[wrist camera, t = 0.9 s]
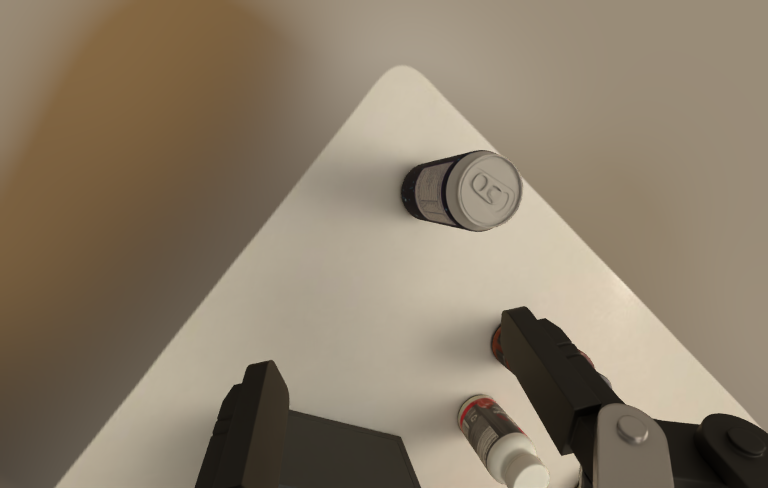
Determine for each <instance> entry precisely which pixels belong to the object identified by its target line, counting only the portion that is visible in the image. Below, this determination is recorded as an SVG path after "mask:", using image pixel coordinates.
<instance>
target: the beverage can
mask: <svg viewBox="0 0 768 488" xmlns="http://www.w3.org/2000/svg"><path fill="white" fill-rule="evenodd" d="M522 194H523V183H522V178H521V175H520V173H519V171H518V169H517V168H516V166H515V165H514V163H512V162H511V161H510V160H509V159H507V158H506V157H504V156H501V155H498V154H496V153H493V152H491V151H486V150H478V151H473V152H469V153H465V154H461V155H457V156H453V157H449V158H445V159H440V160H436V161H432V162H428V163H424V164H421V165H418V166H416V167H414V168H413V169H412V170H411V171H410V172H409V173H408V174H407V175H406V177H405V179H404V181H403V184H402V190H401V195H402V201H403V204H404V206H405V208H406V209H407V211H408V212H409V213H410V214H411V215H412V216H414V217H415V218H417V219H420V220H424V221H429V222H433V223H438V224H442V225H447V226H451V227H456V228H460V229H465V230H469V231H475V232H482V231H487V230H490V229H492V228H494V227H498V226H500V225H502V224H504V223H506V222H507V221H508V220H510V219H511V218H512V216H513V215H514V214H515V213H516V211H517V210H518V207H519V205H520V203H521V200H522Z"/></svg>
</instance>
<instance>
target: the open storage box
mask: <svg viewBox="0 0 768 488" xmlns="http://www.w3.org/2000/svg"><path fill="white" fill-rule="evenodd" d="M278 488H421V487H420V484H419V482H418V479H417V477H416V474H415V471H414V469H413V466H412V464H411V461H410V459H409V456H408V454H407V451H406V449H405V446H404V444H403V441H402V439H401V437H398V436H394V435H390V434H386V433H382V432H378V431H373V430H369V429H365V428H361V427H357V426H353V425H349V424H345V423H341V422H337V421H333V420H328V419H324V418H320V417H316V416H312V415H308V414H304V413H300V412H296V411H292V410H288V418H287V425H286V433H285V441H284V448H283V456H282V464H281V471H280V479H279V486H278Z"/></svg>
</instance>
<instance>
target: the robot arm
mask: <svg viewBox="0 0 768 488" xmlns="http://www.w3.org/2000/svg"><path fill="white" fill-rule="evenodd" d="M500 342H501V348H502V351H503V354H504V356H505V358H506V360H507V362H508V363H509V365H510V367H511V369H512V370H513V372H514V374H515V376H516V377H517V379H518V381H519V383H520V384H521V386H522V388H523V390H524V391H525V393H526V395H527V397H528V398H529V400H530V402H531V404H532V405H533V407H534V409H535V411H536V412H537V414H538V416H539V418H540V419H541V421H542V423H543V425H544V426H545V428H546V430H547V432H548V433H549V435H550V437H551V439H552V440H553V442H554V444H555V446H556V447H557V449H558V451H559V453H560V454H561V456H563V455H567V454H571V453H574V454H575V456H576V458H577V459H578V461H579V463H580V472H579V488H768V433H766V432H765V431H764V430H762V429H761V428H759V427H758V426H756V425H754V424H752V423H750V422H748V421H746V420H744V419H742V418H739V417H736V416H733V415H728V414H720V413H718V414H711V415H709V416H707V417H705V419H704V420H703V421H702V423H701V424H700V425H698V424H689V423H679V422H670V421H662V420H657V419H653V418H651V417H650V416H648V415H647V414H646V413H644V412H642V411H641V410H639V409H637V408H635V407H632V406H629V405H626V404H625V403H624V402H623V401H622V400H621V399H620V398H619V397H618V396H617V395H616V394H615V393H614V391H613V390H612V389H611V388H610V387H609V385H608V384H607V383H606V382H605V381H604V380H603V378H602V377H601V376H600V375H599V374H598V372H597V371H596V370H595V369H594V368H593V366H592V365H591V364H590V363H589V362H588V360H587V359H586V358H585V357H584V356H583V355H581V353H580V351H579V350H578V349H577V347H576V346H575V345H574V344H572V342H571V340H570V339H569V338H568V337H567V335H566V334H565V333H564V332H563V331H562V329H561V328H559V327H558V326H556V325H555V324H553V323H552V322H550V321H549V320H547V319H546V318H544V319H539V320H537V319H536V318H535V316H534V315H533V314H532V313H531V311H530V310H529V309H528V308H527V307H525V306H523V307H519V308H514V309H509V310H505V311H503V312H502V320H501V337H500ZM288 410H289V392H288V388H287V385H286V384H285V382H284V380H283V378H282V376H281V374H280V372H279V370H278V368H277V366H276V364H275V362H274V361H273V360H269V361H264V362H260V363H255V364H250V365H249V366H248V367H247V369H246V371H245V375H244V378H243V382H242V383H241V384H237V385H234V386H233V387H232V389H231V390H230V391H229V393H228V394H227V396H226V397H225V399H224V400H223V402H222V405H221V408H220V411H219V414H218V417H217V419H218V420H217V422H216V423H215V427H214V430H213V436H211V439H210V442H209V445H208V448H207V451H206V454H205V457H204V460H203V463H202V466H201V469H200V472H199V476H198V479H197V482H196V485H195V488H278V486H279V479H280V471H281V464H282V456H283V448H284V441H285V433H286V425H287V418H288Z"/></svg>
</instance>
